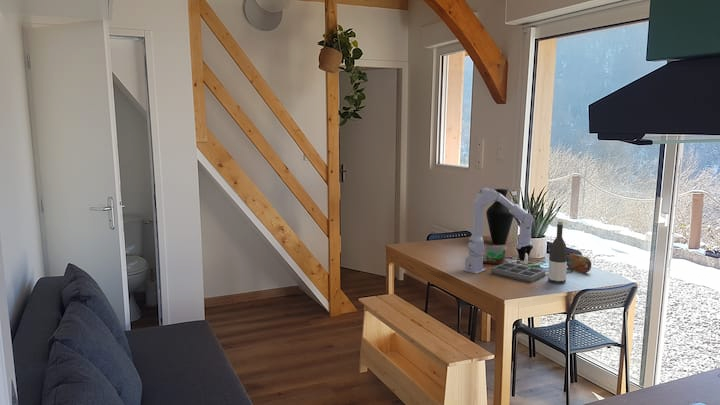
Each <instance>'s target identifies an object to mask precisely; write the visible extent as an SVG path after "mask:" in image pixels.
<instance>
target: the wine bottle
mask: <svg viewBox="0 0 720 405" xmlns="http://www.w3.org/2000/svg"><path fill="white" fill-rule="evenodd" d="M556 226H557V227H556V237H555V239H553V242H552V244H551V246H550V248H549V257H548V259H549V260H548V272H547V274H548V276H547V281H548V282H549V283H551V284H556V285H561V284H562V285H564V284H565V283H566V280H567V268H568V266H567V256H568V248H567V245H566V242H565V240H564V238H563V228H564V224H563V221H561V220H559V221H558V220H557V224H556Z"/></svg>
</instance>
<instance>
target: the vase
mask: <svg viewBox="0 0 720 405" xmlns="http://www.w3.org/2000/svg"><path fill="white" fill-rule="evenodd" d="M493 190H495V191H496V192H499V193H500V194H502V195H503V196H504V197H505V198H506V199H507V194H508V189H507V188H495V189H493ZM485 212H486V213H485V215H486V219H487V224H488V228H489V229H488V230H489V235H490V240H491V243H492V244H493V245H495V246H506V244H507V240H508V237H509V234H510V230H511V226H512V224H513V220H514V217H515V216H513V215H512V214H511V213H510V212H509V208H507V207H506V206H504V205H503V204H502V203H500V202H499V201H493V202H492V204H491V205H490V206H489V207H488V208H487V210H486V211H485Z"/></svg>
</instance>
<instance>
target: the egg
mask: <svg viewBox="0 0 720 405" xmlns="http://www.w3.org/2000/svg"><path fill="white" fill-rule="evenodd" d="M528 262H529V258H528V254H527V253H526V254H525V259H524V261H521V260H520V259H519V263H520V265H527V264H528Z"/></svg>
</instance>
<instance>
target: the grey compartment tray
mask: <svg viewBox="0 0 720 405" xmlns="http://www.w3.org/2000/svg"><path fill="white" fill-rule="evenodd" d="M490 269H491V271H490V274H492V275H495V276H500V277H504V278H508V279H509V278H510V279H513V280H517V281H521V282H527V283H531V284H532V283H534V282H536V281H538V280H540V279H542V278H544V277H546V270H545V269H540V268H536V267H530V266H525V265H522V264H516V263H510V262H504V263H503V264H497V265H496V266H495V265H494V267H491V268H490Z"/></svg>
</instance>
